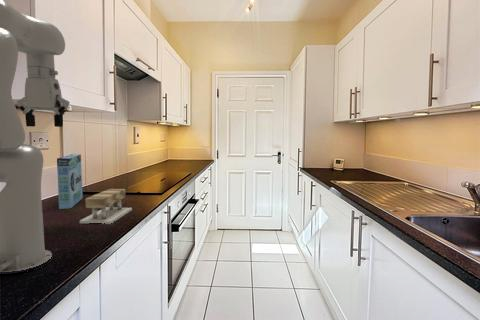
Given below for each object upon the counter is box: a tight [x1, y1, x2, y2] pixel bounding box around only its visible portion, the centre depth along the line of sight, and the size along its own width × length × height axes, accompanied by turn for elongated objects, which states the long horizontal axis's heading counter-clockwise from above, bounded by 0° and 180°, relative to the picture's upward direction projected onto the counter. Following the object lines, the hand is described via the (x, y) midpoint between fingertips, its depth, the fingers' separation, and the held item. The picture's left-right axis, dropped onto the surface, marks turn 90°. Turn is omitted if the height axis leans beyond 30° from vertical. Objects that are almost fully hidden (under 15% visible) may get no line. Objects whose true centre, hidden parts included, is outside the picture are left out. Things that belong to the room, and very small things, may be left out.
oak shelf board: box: [85, 188, 126, 209], centre depth 116 cm, size 18×7×4 cm, turn 177°
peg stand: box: [79, 199, 133, 225], centre depth 116 cm, size 19×12×6 cm, turn 178°
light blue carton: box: [56, 153, 84, 210], centre depth 134 cm, size 20×5×23 cm, turn 14°
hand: (44, 126), depth 95 cm, fingers open, 9 cm apart
